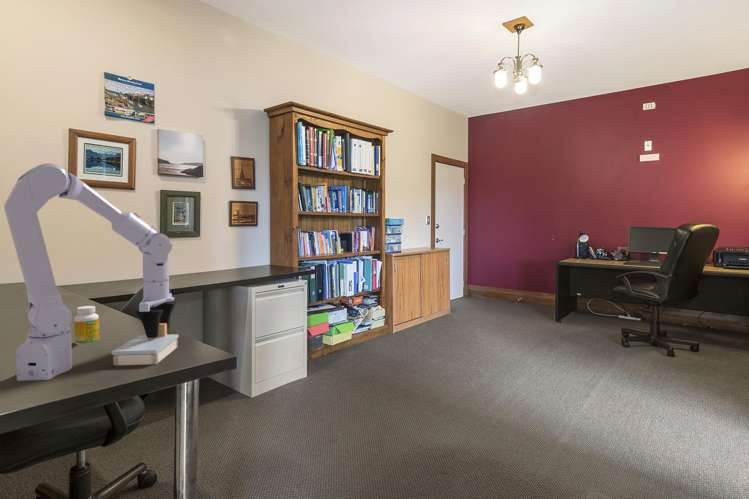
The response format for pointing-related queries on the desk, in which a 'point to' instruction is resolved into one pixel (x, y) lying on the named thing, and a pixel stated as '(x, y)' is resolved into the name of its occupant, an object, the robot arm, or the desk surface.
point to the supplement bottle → (86, 325)
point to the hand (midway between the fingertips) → (157, 334)
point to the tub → (145, 356)
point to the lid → (147, 343)
